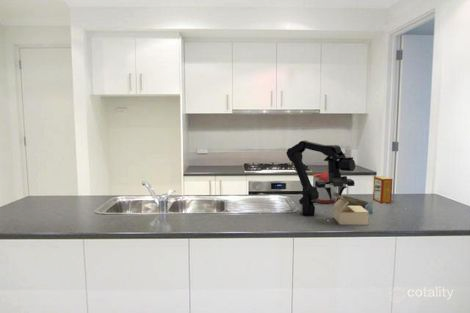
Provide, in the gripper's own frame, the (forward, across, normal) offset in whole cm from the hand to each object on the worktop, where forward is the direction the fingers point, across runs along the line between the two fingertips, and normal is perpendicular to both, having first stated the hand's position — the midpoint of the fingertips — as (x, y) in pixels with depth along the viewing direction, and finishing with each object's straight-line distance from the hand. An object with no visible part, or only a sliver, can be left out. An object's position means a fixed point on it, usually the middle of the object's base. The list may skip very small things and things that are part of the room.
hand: (334, 199), depth 158 cm
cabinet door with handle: (+3, +3, 0) cm, 5 cm away
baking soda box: (+14, +41, +39) cm, 58 cm away
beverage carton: (+13, +16, +21) cm, 29 cm away
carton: (+12, +8, 0) cm, 14 cm away
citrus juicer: (+11, +4, +38) cm, 40 cm away
